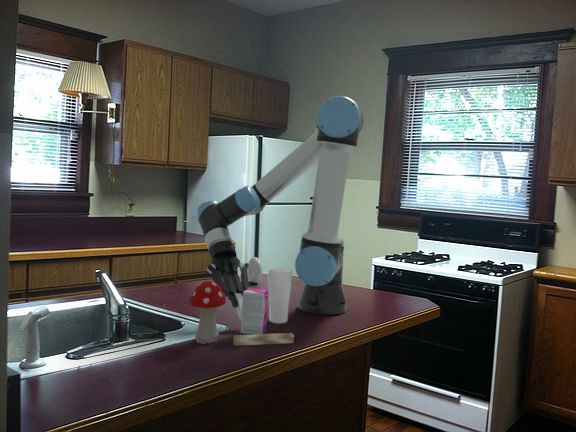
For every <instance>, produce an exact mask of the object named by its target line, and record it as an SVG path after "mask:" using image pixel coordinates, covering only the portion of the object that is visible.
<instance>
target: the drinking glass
mask: <svg viewBox="0 0 576 432" xmlns="http://www.w3.org/2000/svg"><path fill="white" fill-rule="evenodd" d="M267 273H268V275H267V290H268V312H269V313H268V315H269V316H268V320H269V322H270V323H272V324H276V325H277V324H278V325H279V324H280V325H281V324H286V323H287V322H288V319H289V309H290V300H291V292H292V283H293V281H292V279H293V274H292V273H293V270H292V269H290V268H283V267H282V268H281V267H276V268H275V267H272V268H269V269H268V272H267Z"/></svg>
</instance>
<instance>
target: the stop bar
mask: <svg viewBox="0 0 576 432" xmlns="http://www.w3.org/2000/svg"><path fill="white" fill-rule="evenodd" d="M232 339H233V340H232V341H233V342H232V343H233V345H234V347H237V346H255V345H260V346H261V345H277V344H278V345H279V344H281V345H282V344H294V343H295V342H294V341H295V334H293V332H289V333H288V332H285V333H284V332H283V333H281V332H279V333H264V334H254V335H240V334H237V335H236V334H235V335H234V334H233V337H232Z"/></svg>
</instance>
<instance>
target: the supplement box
mask: <svg viewBox="0 0 576 432" xmlns="http://www.w3.org/2000/svg"><path fill="white" fill-rule="evenodd" d="M268 303H269V296H268V289H261V288H260V289H259V288H250V287H249V288H248V289H247V290H245V291H244V292H243V299H242V317H241V319H240V334H239V335H254V334H266V331H267V318H268V317H267V315H268V314H267V313H268Z"/></svg>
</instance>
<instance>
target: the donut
mask: <svg viewBox="0 0 576 432" xmlns="http://www.w3.org/2000/svg"><path fill="white" fill-rule="evenodd" d="M247 263H248V264H249V266H248V269H247V272H248V279H249V280H250V282H252V283H253V284H257V283H259V282H260V281H261V279H262V276H263V266H262V261H261V259H259V258H258V257H256V256H254V257H253V256H252V257H251V258H250V259H249V260H248V262H247Z"/></svg>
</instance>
